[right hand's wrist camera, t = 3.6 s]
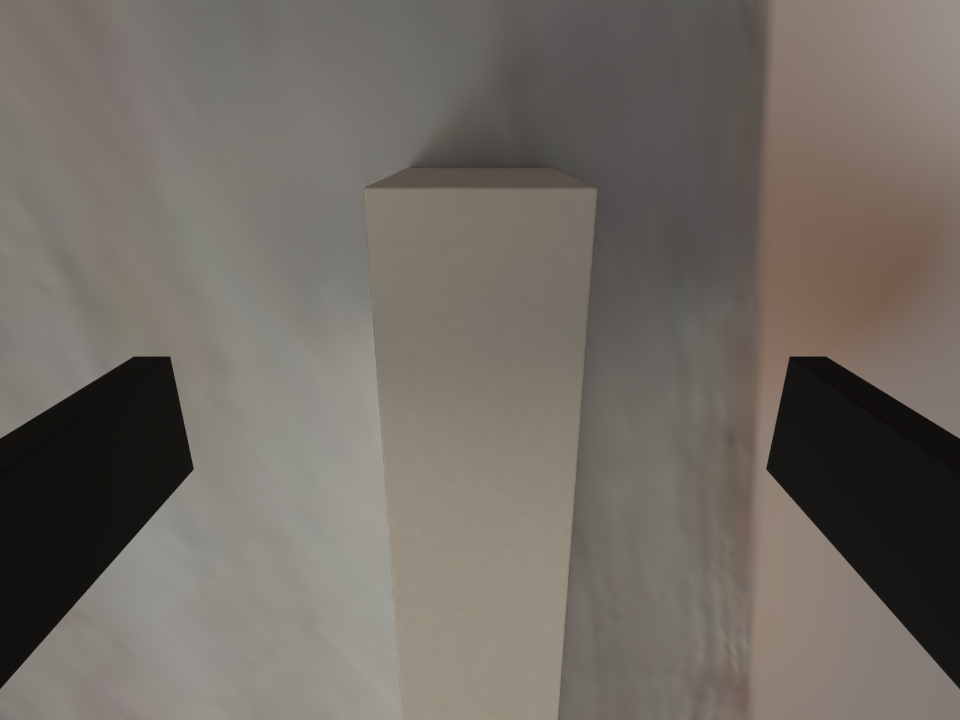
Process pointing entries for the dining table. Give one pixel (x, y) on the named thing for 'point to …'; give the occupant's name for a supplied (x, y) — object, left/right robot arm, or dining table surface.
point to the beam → (480, 427)
